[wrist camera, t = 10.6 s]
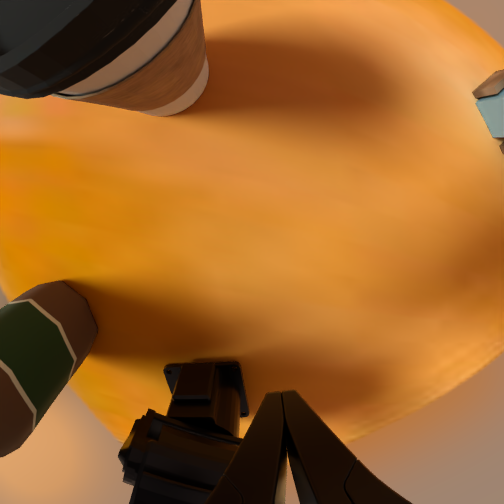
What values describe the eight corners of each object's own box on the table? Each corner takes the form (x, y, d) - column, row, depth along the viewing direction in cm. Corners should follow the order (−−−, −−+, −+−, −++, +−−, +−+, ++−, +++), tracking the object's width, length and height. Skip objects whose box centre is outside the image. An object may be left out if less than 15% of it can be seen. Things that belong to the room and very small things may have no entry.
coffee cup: (234, 27, 16) (213, -141, 1) (220, 136, 18) (132, 43, 4) (124, 33, 16) (5, -69, 1) (105, 135, 18) (-76, 117, 3)
